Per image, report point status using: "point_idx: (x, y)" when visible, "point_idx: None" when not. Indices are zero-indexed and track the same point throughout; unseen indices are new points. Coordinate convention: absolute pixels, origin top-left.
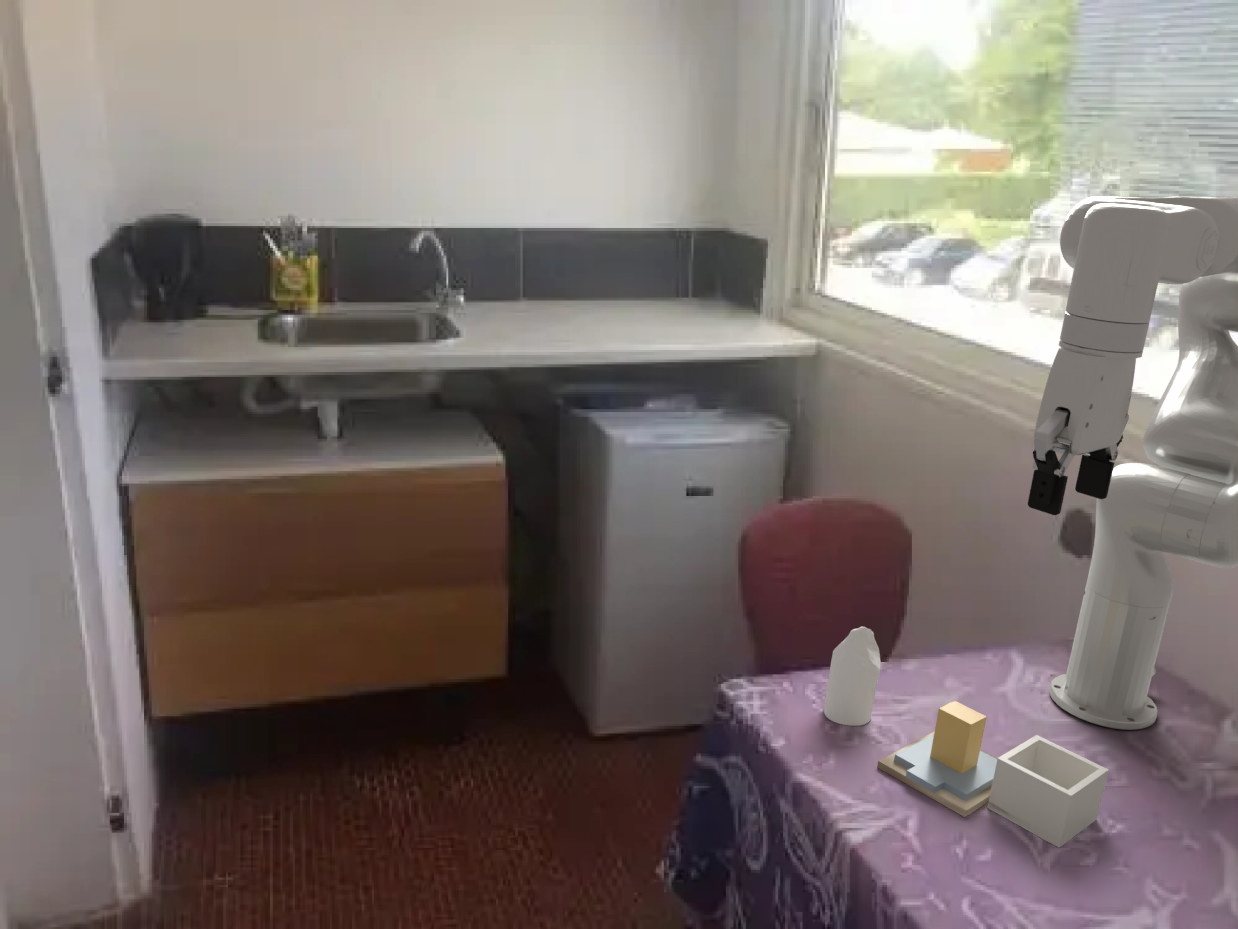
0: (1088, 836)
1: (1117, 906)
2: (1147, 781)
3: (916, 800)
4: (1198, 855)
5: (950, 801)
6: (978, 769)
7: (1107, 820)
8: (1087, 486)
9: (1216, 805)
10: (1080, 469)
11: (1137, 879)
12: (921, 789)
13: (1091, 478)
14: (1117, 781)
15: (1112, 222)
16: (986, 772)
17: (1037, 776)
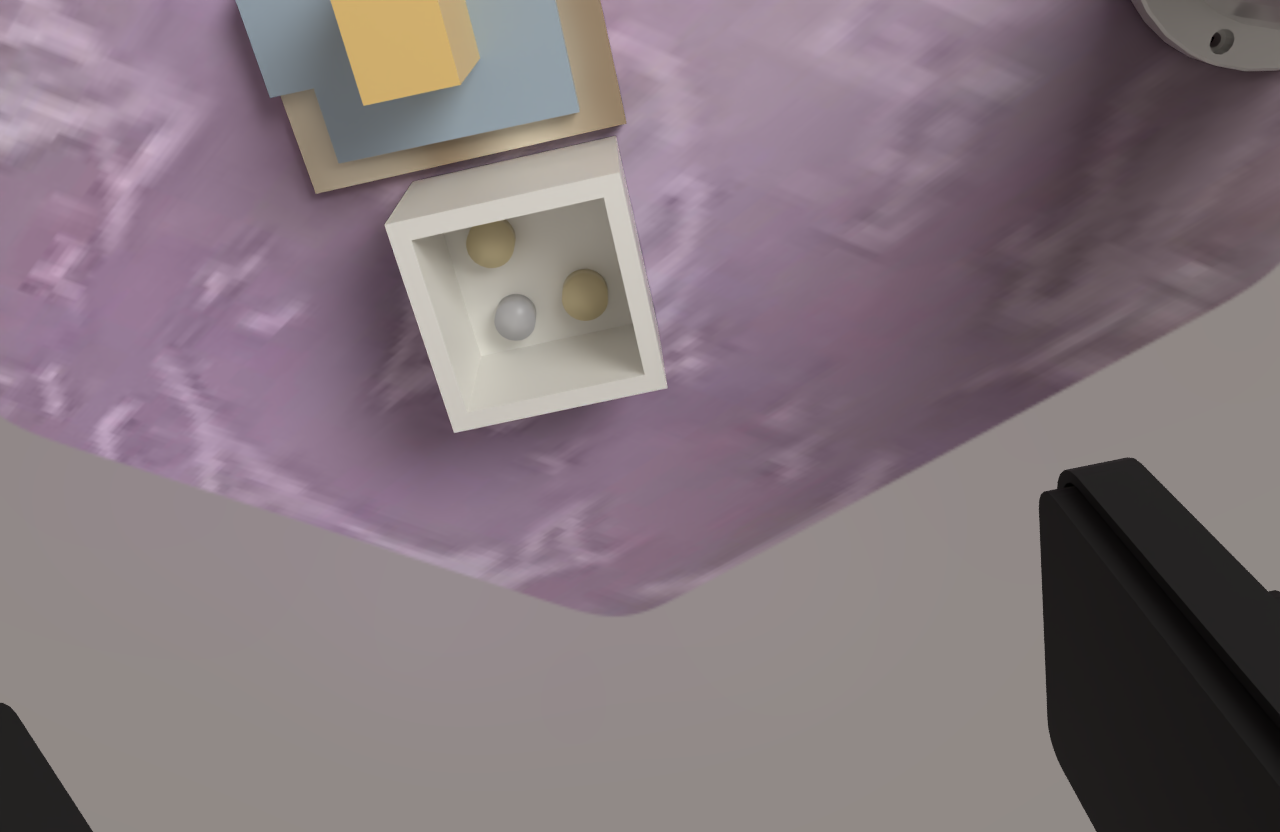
0: None
1: (440, 533)
2: (951, 262)
3: (232, 71)
4: (763, 495)
5: (299, 143)
6: (467, 79)
7: (683, 337)
8: (1087, 656)
9: (1003, 396)
10: (1194, 688)
11: (556, 497)
12: None
13: (1138, 774)
14: (873, 230)
15: None
16: (478, 102)
17: (432, 338)
